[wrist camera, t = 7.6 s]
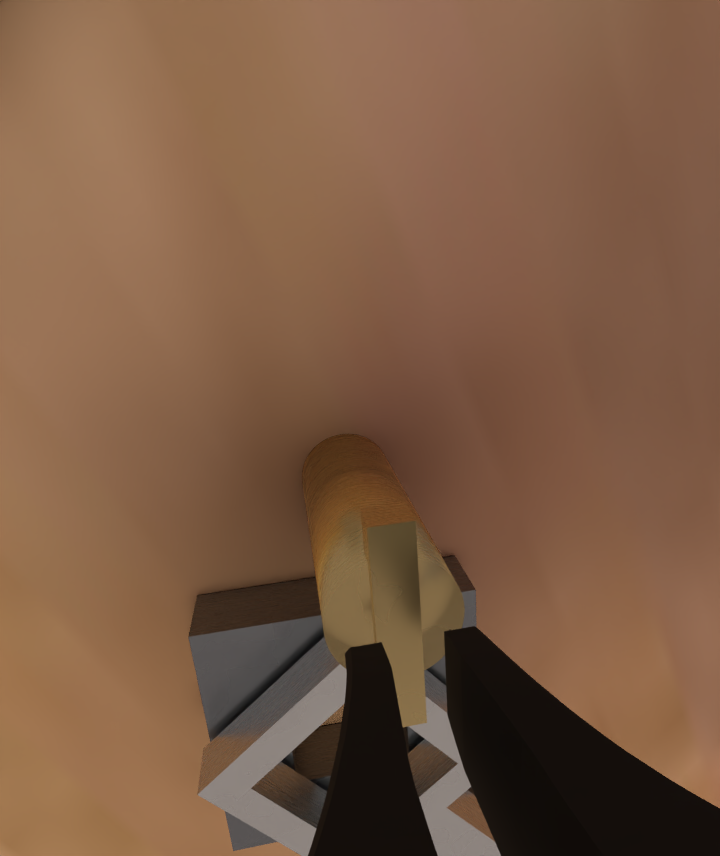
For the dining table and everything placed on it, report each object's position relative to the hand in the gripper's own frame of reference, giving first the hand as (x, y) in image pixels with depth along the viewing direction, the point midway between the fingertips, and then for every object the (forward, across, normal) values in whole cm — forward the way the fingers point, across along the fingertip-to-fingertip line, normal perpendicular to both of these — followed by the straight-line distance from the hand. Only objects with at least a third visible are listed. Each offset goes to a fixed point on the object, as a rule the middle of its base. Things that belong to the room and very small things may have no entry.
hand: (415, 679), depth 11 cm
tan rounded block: (+10, 0, 0) cm, 10 cm away
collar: (+8, -2, +13) cm, 15 cm away
